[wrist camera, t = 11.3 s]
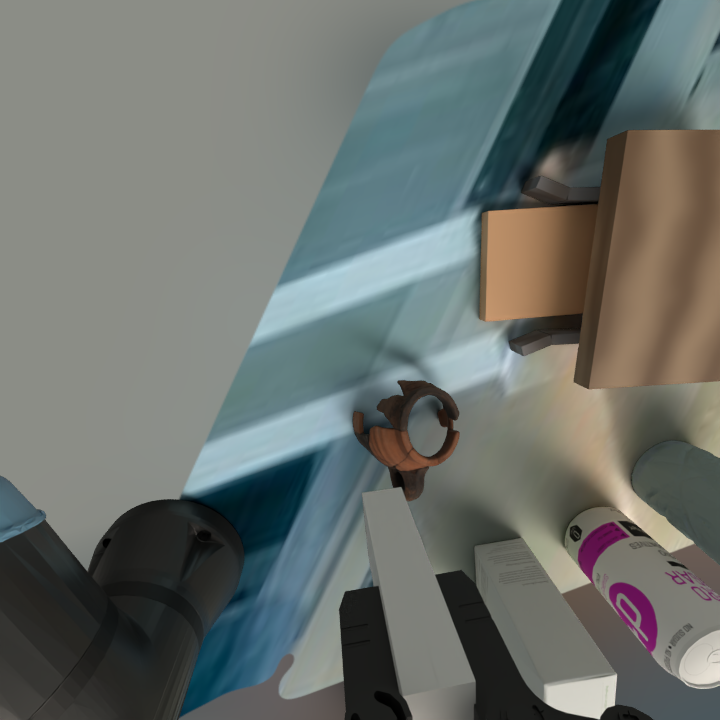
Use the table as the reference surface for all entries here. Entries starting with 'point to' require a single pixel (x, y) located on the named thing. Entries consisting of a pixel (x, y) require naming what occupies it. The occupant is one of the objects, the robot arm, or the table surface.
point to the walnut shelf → (647, 263)
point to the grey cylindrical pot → (683, 490)
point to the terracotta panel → (535, 261)
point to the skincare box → (543, 631)
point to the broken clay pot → (395, 441)
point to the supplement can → (650, 593)
